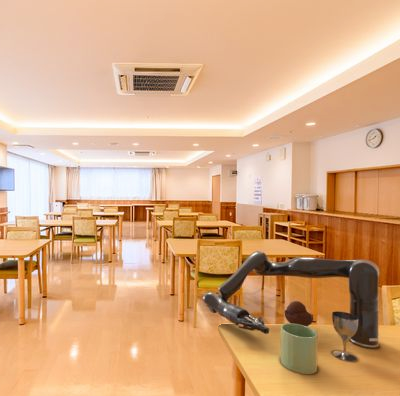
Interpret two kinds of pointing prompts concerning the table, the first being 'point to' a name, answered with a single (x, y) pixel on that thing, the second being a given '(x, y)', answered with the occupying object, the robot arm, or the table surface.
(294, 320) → the ice cream bowl
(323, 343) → the table surface
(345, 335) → the wine glass
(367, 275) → the robot arm
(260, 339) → the table surface
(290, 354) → the tumbler
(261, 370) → the table surface
